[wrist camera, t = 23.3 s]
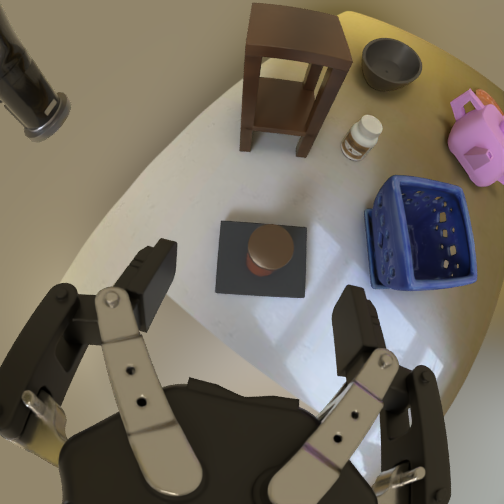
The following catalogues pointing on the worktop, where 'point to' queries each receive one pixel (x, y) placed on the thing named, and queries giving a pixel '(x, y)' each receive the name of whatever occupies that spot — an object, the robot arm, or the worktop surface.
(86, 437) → the robot arm
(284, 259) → the spice jar
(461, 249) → the flower pot
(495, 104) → the saucer
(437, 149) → the worktop surface
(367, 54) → the bowl
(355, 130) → the pill bottle
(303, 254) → the pad
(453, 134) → the teapot
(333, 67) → the stand
